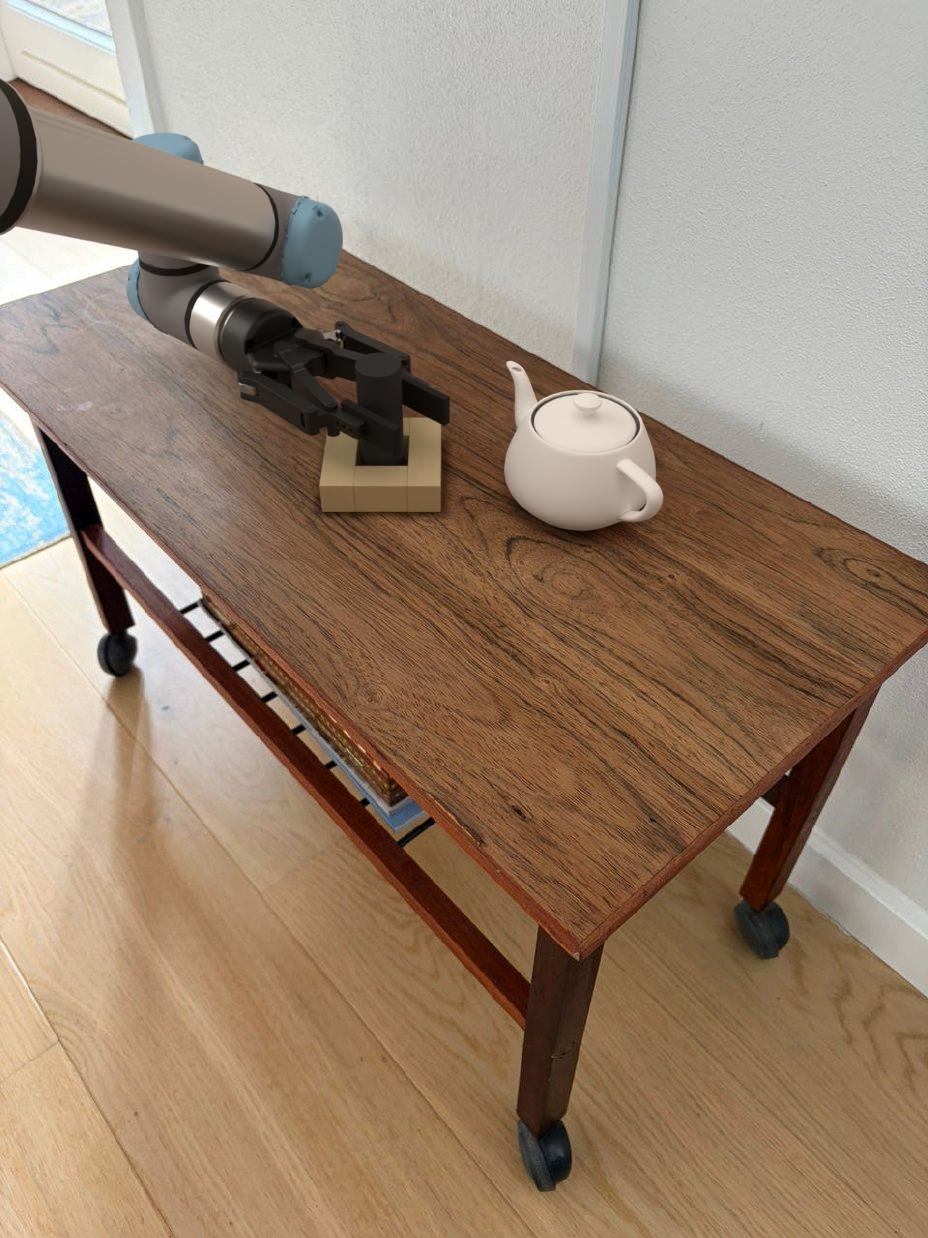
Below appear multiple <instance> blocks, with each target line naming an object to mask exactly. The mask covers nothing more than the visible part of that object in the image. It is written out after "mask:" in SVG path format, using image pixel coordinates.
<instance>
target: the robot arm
mask: <svg viewBox="0 0 928 1238" xmlns="http://www.w3.org/2000/svg"><path fill="white" fill-rule="evenodd" d="M14 228H20V229H26V230H30V231H37V232H41V233H46V234H51V235H57V236H61V237H66V238H71V239H76V240H80V241H86V242H91V243H97V244H101V245H106V246H111V247H116V248H121V249H127V250H132V251H136V252H137V258H136V259H135V260H134V262H133V264H132V265H131V267H130V269H129V271H128V279H127V283H126V285H125V291H126V297H127V301H128V303H129V305H130V307H131V308H132V310H133V311H134V312H135V314H136V315H137V316H139V317H140V318H142V319H143V320H144V321H146V322H147V323H148V324H150V325H151V326H153V328H154V329H155V330H157V331H158V332H160V333H163V334H165V335H167V336H170V337H172V338H175V339H176V340H178V341H180V342H182V343H184V344H185V345H188V346H189V347H191V348H193V349H195V350H197V351H198V352H200V353H202V354H203V355H206V356H207V357H209V358H211V359H212V360H215V361H216V362H218V363H219V364H221V365H223V366H226V367H228V368H230V369H231V370H232V371H234V372H235V373H236V378H237V386H238V390H239V396H240V399H242V400H244V401H247V402H251V403H254V404H257V405H260V406H261V407H263V408H265V409H267V410H268V411H270V412H271V413H273V414H274V415H276V416H278V417H279V418H280V419H282V420H284V421H286V422H287V423H288V424H290V425H292V426H293V427H295V428H296V429H298V430H300V431H301V432H303V433H304V434H306V435H308V436H311V437H312V436H313V437H314V436H317V435H319V434H320V432H321V430H322V429H325V428H326V436H327V435H328V436H330V437H336V436H339V435H340V431H341V432H343V433H344V434H346V435H348V436H350V437H351V438H353V439H357V440H360V439H364V440H366V441H367V442H369V443H371V444H373V445H375V446H376V447H378V448H380V449H382V450H384V451H385V452H387V453H389V454H391V455H393V456H394V457H396V456H398V455H399V454H401V430H400V427H399V426H398V425H396V424H394V423H392V422H390V421H388V420H386V419H385V418H383V417H381V416H379V415H377V414H375V413H373V412H371V411H370V410H368V409H366V408H364V407H362V406H360V405H358V403H357V402H354V401H353V400H351V399H349V398H344V399H343V400H341V401H340V406H339V403H338V400H337V399H336V398H334V396H333V395H332V394H331V393H330V392H329V390H327V389H326V388H325V387H324V386H323V385H322V384H321V383H320V381H318V380H317V379H316V377H319V378H323V379H326V380H329V381H334V380H335V379H336V378H340V379H342V380H343V379H344V380H346V381H351V382H354V383H356V374H355V363H356V361H357V360H358V359H359V358H360V357H362V356H364V355H367V354H371V353H387V354H391V355H393V356H395V357H397V358H398V359H399V360H400V362H401V375H402V404H403V407H404V406H405V407H406V408H408V409H410V410H412V411H413V412H416V413H418V414H420V415H422V416H424V417H425V418H430V419H431V420H433V421H435V422H437V423H439V424H441V426H443V427H445V426H447V425H449V424H450V422H451V396H449V395H447V394H445V393H443V392H441V391H439V390H437V389H435V388H434V387H432V386H430V384H429V383H428V382H427V381H426V380H424V379H422V378H420V377H418V376H416V375H413V374H412V363H411V362H412V361H411V355H410V354H409V353H407V352H405V351H403V350H400V349H398V348H396V347H394V346H391V345H390V344H387V343H385V342H383V341H381V340H377V339H376V338H373V337H371V336H369V335H366V334H364V333H362V332H360V331H358V330H355V329H354V328H353V327H352V326H351V325H350V324H349V323H348V322H346V321H344V320H338V321H336V322H335V323H334V330H331V331H327V332H324V333H322V331H320V330H318V329H313V328H307V327H304V325H303V324H302V323H301V322H300V321H299V320H298V318H297V316H295V315H294V313H292V312H291V311H289V310H288V309H286V308H284V307H283V306H280V305H278V304H276V303H274V302H272V301H270V300H267V299H266V298H264V297H262V296H260V295H259V294H257V293H255V292H253V291H251V290H248V289H246V288H244V287H242V286H240V285H238V284H236V283H233V282H231V281H230V280H228V279H226V278H224V277H222V276H221V274H220V270H219V268H221V269H226V270H232V271H235V272H238V273H244V274H249V275H254V276H259V277H263V278H266V279H271V280H274V281H277V282H281V283H283V284H284V285H286V286H290V287H291V286H296V287H300V288H304V289H308V290H309V289H310V290H311V289H313V290H314V289H318V288H320V287H321V286H322V287H323V285H325V284H326V283H327V282H328V281H329V280H330V279H331V278H332V277H333V275H334V273H335V272H336V270H337V268H338V265H339V264H340V260H341V254H342V249H343V245H344V233H343V225H342V222H341V220H340V217H339V215H338V214H337V212H336V211H335V210H334V209H333V207H331V206H330V205H328V204H326V203H324V202H321V201H318V200H314V199H312V198H310V197H309V196H306V195H297V194H294V193H290V192H286V191H283V190H280V189H277V188H274V187H270V186H268V185H265V184H261V183H259V182H254V181H252V180H250V179H247V178H245V177H241V176H238V175H235V174H232V173H229V172H226V171H223V170H220V169H218V168H214V167H212V166H208V165H206V164H205V163H204V160H203V157H202V153H201V150H200V147H199V145H198V144H197V143H196V141H194V140H192V139H191V138H190V136H186V135H184V134H181V133H175V132H155V133H149V134H143V135H140V136H137V137H135V138H132V139H128V138H125V137H122V136H119V135H116V134H115V133H110V132H107V131H104V130H101V129H99V128H97V127H96V128H95V127H92V126H90V125H86V124H84V123H80V122H78V121H75V120H71V119H68V118H66V117H63V116H60V115H57V114H54V113H51V112H48V111H46V110H42V109H39V108H36V107H33V106H30V105H29V104H28V103H27V101H26V100H25V98H24V96H23V95H22V94H21V93H20V92H19V90H18V89H16V87H14V86H13V85H12V84H11V83H9V82H7V81H6V80H4V79H3V78H0V236H3V235H6V234H7V233H9V232H10V231H13V230H14Z"/></svg>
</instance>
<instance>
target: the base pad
mask: <svg viewBox="0 0 928 1238" xmlns="http://www.w3.org/2000/svg"><path fill="white" fill-rule="evenodd" d="M403 432H404V460H405V462H407V465H405V466H362V465H361V462H362V458H361V444H360V440H357V439H353V438H351V437H350V436H348V435H346V434H344V433H343V432H341V431H340V435H339V436H336V437H330V436H328V435H327V434H326V437H325V444H324V449H323V450H324V451H323V458H322V464H321V471H320V477H319V478H320V479H319V484H318V485H319V486H318V487H319V495H320V504H321V512H322V513H328V512H329V513H355V512H356V513H366V512H367V513H407V512H408V513H441V511H442V510H441V509H442V506H441V505H442V504H441V501H442V492H441V491H442V425H441V424H439V423H437V422H435V421H433V420H431V419H430V418H428V417H403Z"/></svg>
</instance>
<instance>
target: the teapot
mask: <svg viewBox="0 0 928 1238" xmlns="http://www.w3.org/2000/svg"><path fill="white" fill-rule="evenodd" d="M505 364H506V367H507V370H508V371H509V373H510V375H511V377H512V379H513V385H514V421H515V427H516V430H515V432H514V435H513V437H512V439H511V440H510V443H509V445H508V448H507V450H506V454H505V458H504V459H505V460H504V467H503V474H504V479H505V480H504V481H505V485H506V487H507V488H508V491H509V492H510V494H511V496H512V497H513V499H514V500H515V501H516V502H517V503H518V504H519V505H520V506H521V508H523V509H524V510H525V511H526V512H528V513H529V514H530V515H532V516H533V517H535V518H537V519H539V520H540V521H542V522H544V523H546V524H548V525H550V526H552V527H556V528H559V529H564V530H570V531H580V532H581V531H593V530H599V529H604V528H607V527H610V526H612V525H615V524H618V523H621V522H627V523H628V522H629V523H639V522H640V523H641V522H644V521H647V520H648V521H649V519H652V518H653V517H654V516H656V515H657V514H658V513H659V511H660V510H661V508H662V506H663V503H664V492H663V490H662V488H661V486H660V484H658V483H657V481H656V480H657V471H656V470H657V468H656V467H657V465H656V456H655V452H654V448H653V445H652V442H651V439H650V437H649V434H648V431H647V429H646V426H645V424H644V421H643V419H642V417H641V415H640V414H639V412H638V411H637V410H636V409H635V408H634V407H632V406H631V404H629V403H628V402H626V401H625V400H623V399H622V398H618V397H616V396H614V395H612V394H609V393H605V392H602V391H601V392H600V391H595V390H588V389H587V390H584V389H574V390H565V391H560V392H557V393H553V394H550V395H548V396H545V397H543V398H541V399H540V400H539V401H538V400H537V398H536V394H535V392H534V389H533V386H532V384H531V381H530V379H529V376H528V375H527V373H526V371H525V369H524V368H523V367H522V365H520V364H519V363H517V362H515V361H512V360H508V361H506V363H505ZM642 508H643V509H642ZM641 509H642V510H641Z"/></svg>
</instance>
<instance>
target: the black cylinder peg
mask: <svg viewBox="0 0 928 1238" xmlns="http://www.w3.org/2000/svg"><path fill="white" fill-rule="evenodd" d="M355 374H356V382H355V388H356V398H357V401H356V403H357V404H358V405H360V406H362V407H364V408H366V409H368V410H370V411H371V412H373V413H375V414H377V415H379V416H381V417H383V418H385V419H386V420H388V421H390V422H392V423H394V424H396V425H398V426H399V427H400V430H401V454H399V455H398V456H396V457H394V456H393V455H391V454H389V453H387V452H385V451H384V450H382V449H380V448H378V447H376V446H375V445H373V444H371V443H369V442H367V441H366V440H364V439H360V444H361V458H362V461H361V466H406V463H405V462H406V461H405V460H404V432H403V418H404V411H403V410H404V409H403V407H404V405H403V404H402V375H401V362H400V360H399V359H398V358H397V357H395V356H393V355H391V354H387V353H371V354H367V355H364V356H362V357H360V358H359V359H358V360H357V361H356V363H355Z"/></svg>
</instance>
